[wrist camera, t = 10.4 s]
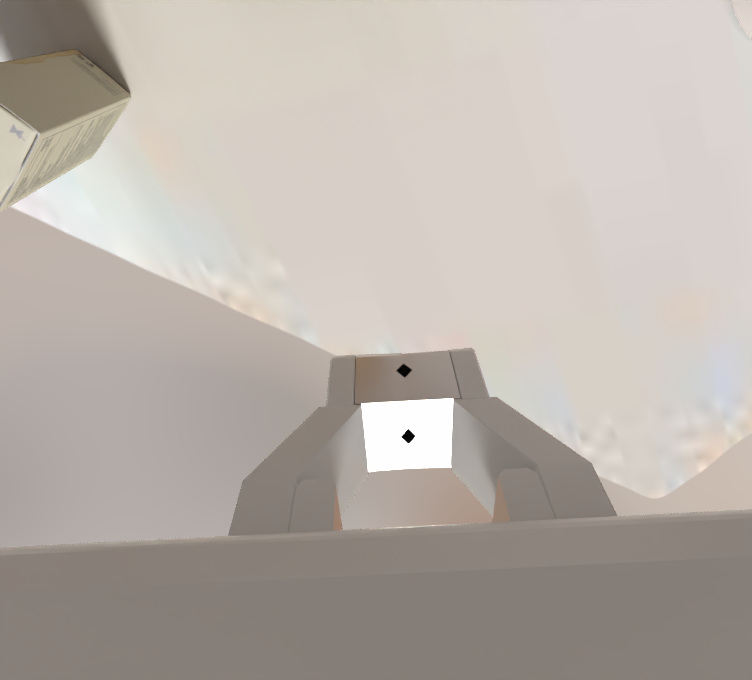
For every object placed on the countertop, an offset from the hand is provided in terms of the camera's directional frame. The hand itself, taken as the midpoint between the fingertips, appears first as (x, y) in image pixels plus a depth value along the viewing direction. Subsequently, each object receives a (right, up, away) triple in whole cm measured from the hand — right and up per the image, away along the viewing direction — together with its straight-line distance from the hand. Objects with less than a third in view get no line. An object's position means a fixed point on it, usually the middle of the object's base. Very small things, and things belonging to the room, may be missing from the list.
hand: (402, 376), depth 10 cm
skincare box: (-21, +18, +24) cm, 37 cm away
